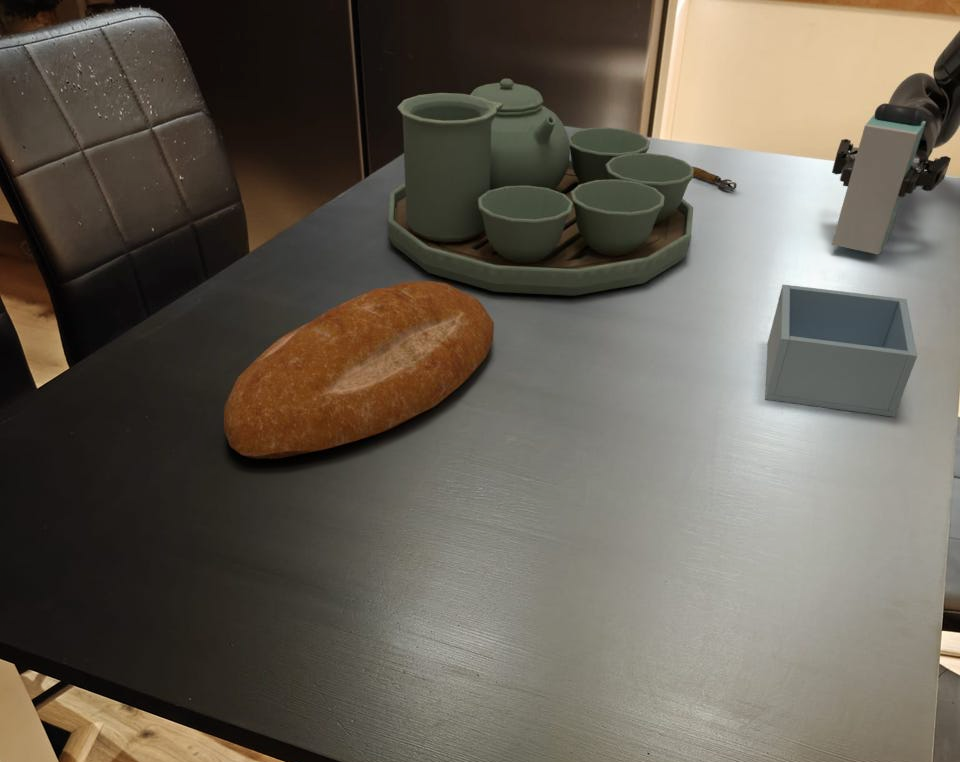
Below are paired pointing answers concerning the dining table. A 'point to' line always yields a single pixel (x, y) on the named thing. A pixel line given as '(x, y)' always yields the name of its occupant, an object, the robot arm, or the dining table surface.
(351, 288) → the dining table surface
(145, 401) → the dining table surface
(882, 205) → the knobbed tall block
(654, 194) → the tea set
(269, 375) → the bread
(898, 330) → the basket
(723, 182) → the can opener
